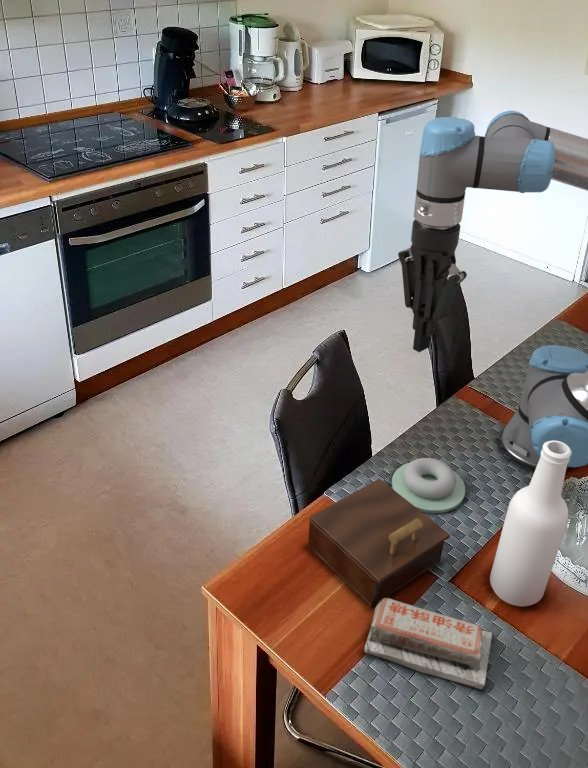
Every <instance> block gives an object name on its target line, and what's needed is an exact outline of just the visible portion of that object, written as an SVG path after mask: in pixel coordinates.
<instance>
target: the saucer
mask: <svg viewBox="0 0 588 768" xmlns="http://www.w3.org/2000/svg"><path fill="white" fill-rule="evenodd" d="M409 463H410V462H406V463H404V464H402V465H401V466H399V467H398V468H397V469H396V470H395V472H394V473H393V475H392V478H391V488H392V489H393V490H395V491H396V492H397V493H398V494H400V495H401V496H402V497H403V498H405V499H406V500H407V501H409V502H410V503H411V504H412V505H414V506H415V507H416V508H417V509H419V510H420V511H421V512H422V513H427V514H442V513H447V512H450V511H453V510H455V509H457V508H458V507H459V506H460V505H461V504H462V503H463V502H464V499H465V496H466V486H465V485H466V484H465V483H464V481H463V479H462V477H461V476H460V475H459V474H458V473H457V472H456V471H455V470H453V472H454V475H455V477H456V483H455V487H454V489H453V490H452V492H451V493H449V494H448V495H446V496H445V497H441V498H436V499H429V498H423V497H421V496H418V495H416V494H415V493H413V492H412V491H410V490H409V489H408V487H407V486H406V485H405V482H404V479H403V474H404V469H405V468H406V466H407V465H408V464H409ZM421 477H422V478H424V479H426V480H429V481H436V480H438V479H437V478H436V477H434V476H431V475H423V476H421Z"/></svg>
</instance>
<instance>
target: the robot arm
mask: <svg viewBox="0 0 588 768" xmlns="http://www.w3.org/2000/svg"><path fill="white" fill-rule="evenodd" d="M421 137H422V138H421V143H420V149H419V158H418V167H417V168H418V169H417V180H416V182H417V183H416V191H415V199H414V208H413V209H414V210H413V221H412V226H411V236H410V242H411V245H410V247H409V248H406V249H404V250H401V251H399V252H398V253H397V257H398V259H399V262H400V265H401V270H402V271H401V273H402V274H401V275H402V286H403V296H404V305H405V308H408V309H409V308H410V309H411V310H412V313H413V318H412V330H414V334H413V335H414V336H413V344H412V350H414V351H415V352H418V353H421V352H423V351H425V350H427V349H429V348H430V345H431V338H432V335H434V334H435V332H436V326H437V325H436V324H437V322H439V321H441V320H442V319H444V318H446V317H448V315H449V312H450V310H451V307H452V305H453V302H454V300H455V298H456V295H457V292H458V290H459V287H460V285H461V283H462V282H463V281H464V280H465V279H466V278H467V275H468V274H467V272H466V271H465V270H460V269H459V267H458V266H457V264H456V263H457V259H456V250H457V247H458V245H459V239H460V233H461V224H460V223H461V222H462V221H463V213H464V207H465V199H466V191H467V188H470V189H481V190H482V189H483V190H493V191H505V192H516V193H520V194H526V193H543V192H545V191H546V190H547V189H548V188H549V186H550V184H551V181H555V182H558V183H562V184H565V185H567V186H571V187H575V188H578V189H581V190H583V191H586V192H588V138H586V137H584V136H583V137H582V136H580V135H576V134H574V133H569V132H566V131H564V130H560V129H557V128H553V127H549V126H546V125H543V124H541V123H537V122H535V121H531V120H530V119H529V117H527V116H526V115H525V114H523V113H522V112H520V111H517V110H506V111H502V112H500V113H498V114H497V115H496V116H494V117H493V118H492V119H491V120H490V122H489V124H487V127H486V131H485V134H484V136H483V135H482V136H481V135H476V132H475V125H474V123H473V122H472V121H470V120H469V119H465V118H459V117H454V116H443V117H442V116H441V117H435V118H432V119H430V120H429V121H427V122H426V124H425V125H424V127H423V131H422V136H421ZM447 273H448V274H447ZM445 280H447V281H446V282H445V284H444V281H445ZM443 285H444V286H443ZM547 441H560V442H563V443H564V444H566V445H567V446H568V447H569V448H570V449H571V452H572V453H571V456H570V460H569V462H568V464H567V468H566V470H567V469H569V468H579V467H583V466H587V465H588V354H587V353H585V352H584V351H581V350H579V349H577V348H573V347H570V346H564V345H557V344H555V345H553V344H552V345H544V346H539V347H538V348H536V349H535V350H534V351H533V353H532V354H531V357H530V360H529V361H528V368H527V372H526V375H525V381H524V384H523V388H522V392H521V396H520V400H519V404H518V409H517V410H516V412H515V413H514V415H513V416H512V417H511V418H510V420H509V421H508V423H507V424H506V425H505V427H504V429H503V431H502V434H501V438H500V444H501V447H502V449H503V451H504V453H505V454H506V455H507V456H508V457H509V458H510V459H511V460H512V461H514V462H515V463H518V464H519V465H520V466H523V467H525V468H527V469H531V470H534V471H535V470H536V467H537V465H538V462H539V460H540V457H541V451H542V449H543V448H542V447H543V444H544V443H545V442H547Z"/></svg>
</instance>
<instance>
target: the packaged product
mask: <svg viewBox="0 0 588 768" xmlns="http://www.w3.org/2000/svg"><path fill="white" fill-rule="evenodd" d="M492 636H493V632H491V631H486V630H483V627H482V626H481V625H478V624H475V623H472V622H470V621H469V622H468V621H466V620H462V619H459V618H456V617H452V616H449V615H445V614H442V613H439V612H435V611H432V610H430V609H426V608H421V607H419V606H414V605H412V604H409V603H405V602H402V601H399V600H395V599H392V598H390V597H387V598H384V599H383V600H382V601H381V600H380V601H379V603H378V604H376V606H375V608H374V612H373V615H372V622H371V625H370V628H369V632H368V635H367V639H366V641H365V645H364V647H363V648H364V649H363V650H364V653H365V654H369V655H371V656H375V657H378V658H382V659H384V660H387V661H390V662H393V663H395V664H397V665H400V666H404V667H407V668H409V669H412V670H413V671H417V672H420V673H422V674H426V675H431V676H433V677H434V676H435V677H438V678H441V679H445V680H448V681H451V682H455V683H459V684H462V685H466V686H469V687H472V688H474V689H479V690H483V689H484V687H485V686H486V680H487V672H488V665H489V661H490V653H491V645H492Z"/></svg>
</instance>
